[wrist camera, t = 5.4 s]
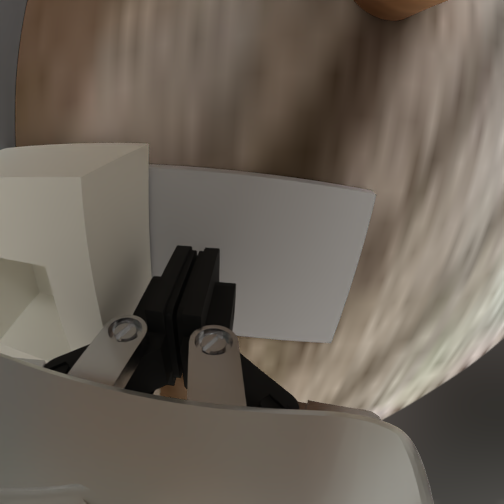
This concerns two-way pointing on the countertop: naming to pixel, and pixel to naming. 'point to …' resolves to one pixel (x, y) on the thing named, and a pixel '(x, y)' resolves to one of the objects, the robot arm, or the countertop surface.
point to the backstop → (243, 227)
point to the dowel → (396, 7)
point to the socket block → (70, 243)
